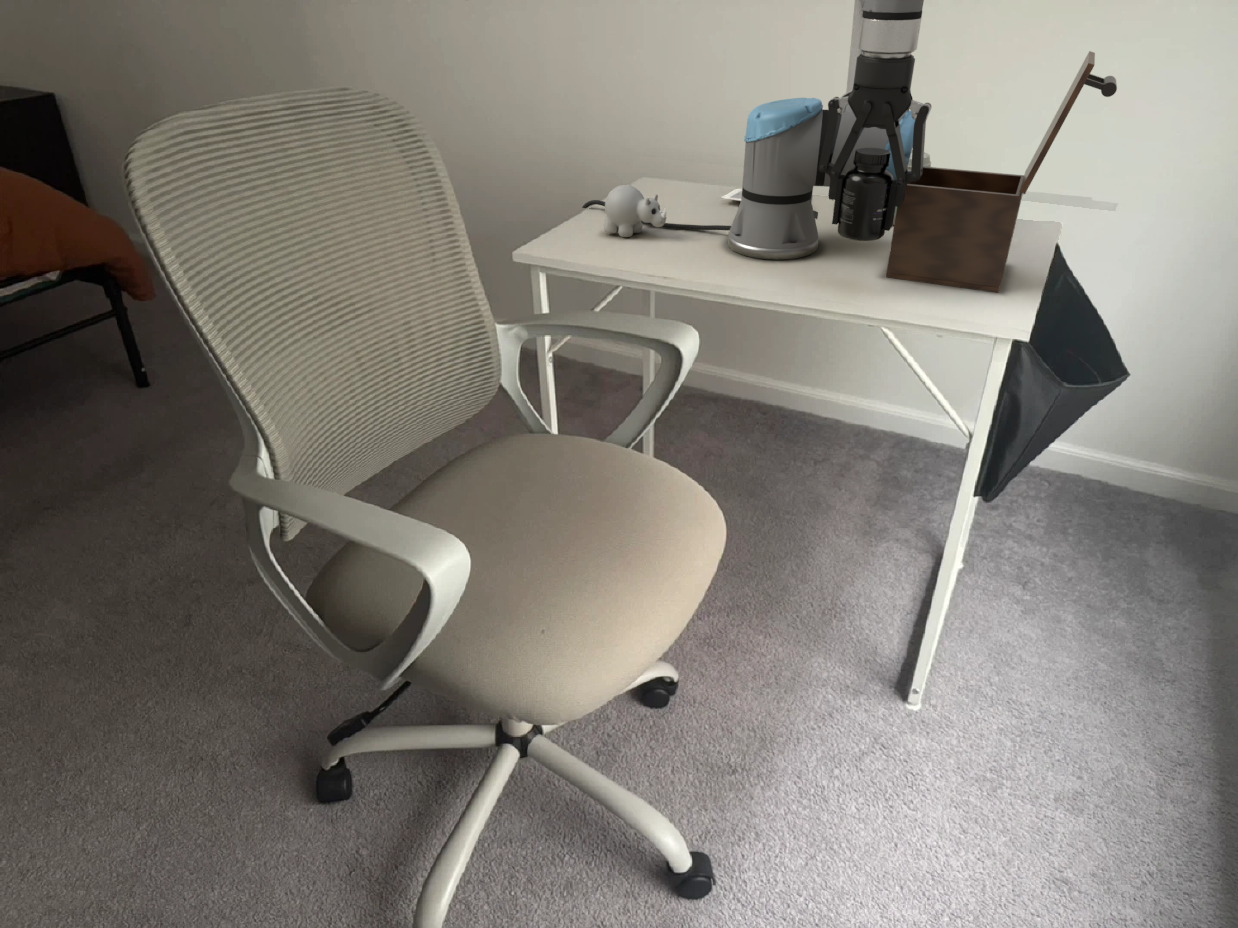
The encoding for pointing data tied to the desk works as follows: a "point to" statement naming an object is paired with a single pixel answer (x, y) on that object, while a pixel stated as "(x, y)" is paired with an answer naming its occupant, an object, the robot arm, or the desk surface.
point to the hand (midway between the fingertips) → (862, 224)
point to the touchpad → (734, 195)
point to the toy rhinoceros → (631, 211)
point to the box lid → (1082, 77)
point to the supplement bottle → (865, 196)
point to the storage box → (955, 228)
